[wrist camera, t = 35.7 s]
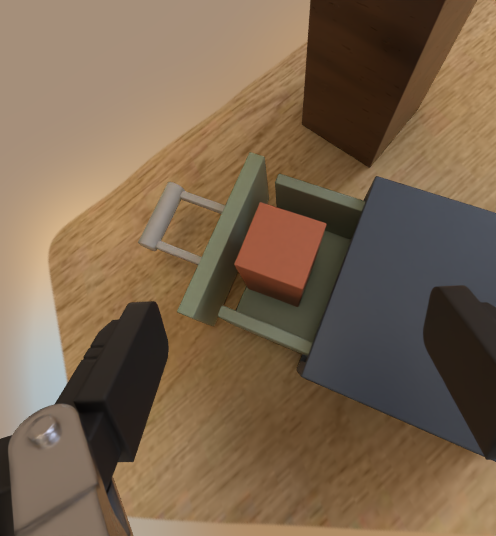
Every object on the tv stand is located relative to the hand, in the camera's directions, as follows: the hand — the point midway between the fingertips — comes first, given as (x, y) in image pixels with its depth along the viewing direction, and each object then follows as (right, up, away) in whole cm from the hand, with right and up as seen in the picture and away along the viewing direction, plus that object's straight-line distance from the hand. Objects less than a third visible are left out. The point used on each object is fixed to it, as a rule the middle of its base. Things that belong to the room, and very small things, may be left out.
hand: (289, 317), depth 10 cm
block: (+2, +1, +18) cm, 19 cm away
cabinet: (+12, -3, +18) cm, 22 cm away
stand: (+10, +16, +24) cm, 30 cm away
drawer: (+1, +1, +20) cm, 20 cm away
